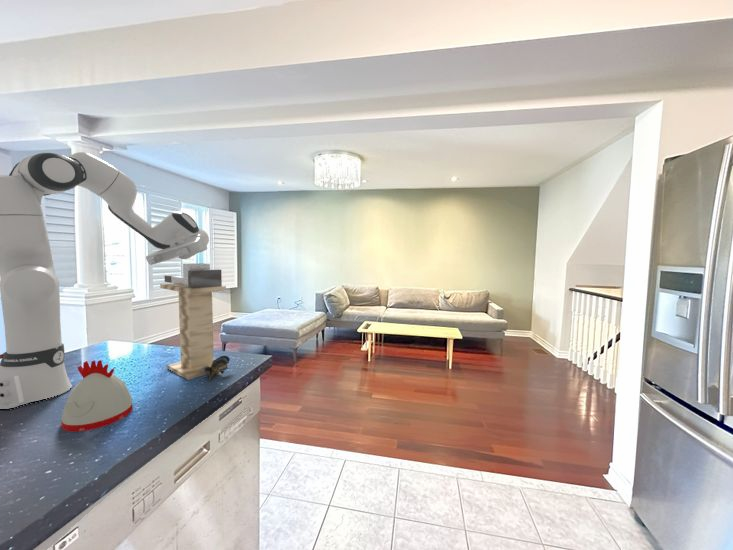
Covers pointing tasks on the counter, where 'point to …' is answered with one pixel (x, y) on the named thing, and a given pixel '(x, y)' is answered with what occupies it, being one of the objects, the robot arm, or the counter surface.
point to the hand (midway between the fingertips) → (164, 258)
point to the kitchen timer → (96, 399)
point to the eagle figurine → (216, 366)
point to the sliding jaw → (186, 273)
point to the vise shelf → (196, 321)
